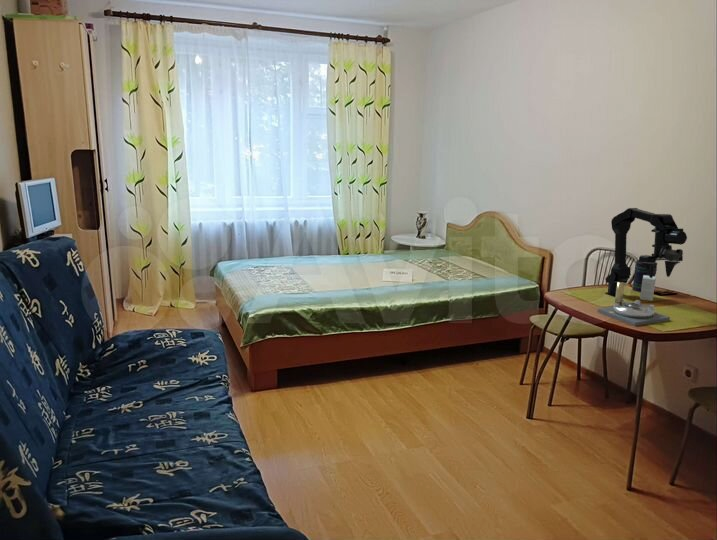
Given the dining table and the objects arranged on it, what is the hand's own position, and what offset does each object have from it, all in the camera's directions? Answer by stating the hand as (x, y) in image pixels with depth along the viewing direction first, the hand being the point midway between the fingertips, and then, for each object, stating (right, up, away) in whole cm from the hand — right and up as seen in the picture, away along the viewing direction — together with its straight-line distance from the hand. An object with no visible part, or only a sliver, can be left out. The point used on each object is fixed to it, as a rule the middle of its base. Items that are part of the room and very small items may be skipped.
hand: (659, 277), depth 235 cm
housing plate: (-15, -17, -5) cm, 23 cm away
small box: (+6, -11, +22) cm, 26 cm away
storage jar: (+12, -8, +36) cm, 38 cm away
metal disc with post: (-15, -15, -5) cm, 22 cm away
